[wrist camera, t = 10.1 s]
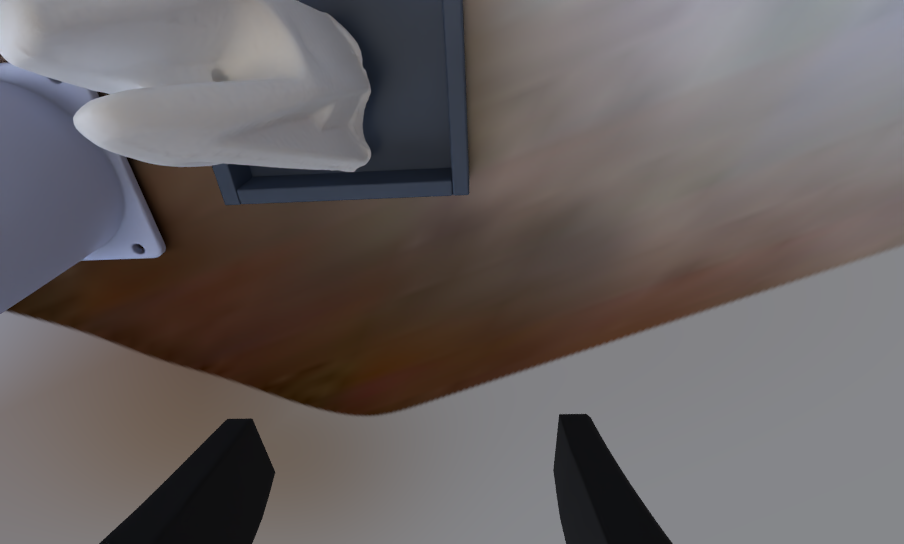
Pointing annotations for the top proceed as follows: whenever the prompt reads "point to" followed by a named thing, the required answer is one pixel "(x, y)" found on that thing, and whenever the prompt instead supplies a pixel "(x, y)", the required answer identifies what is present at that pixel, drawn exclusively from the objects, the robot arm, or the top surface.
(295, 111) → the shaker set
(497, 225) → the top surface
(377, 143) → the tray
